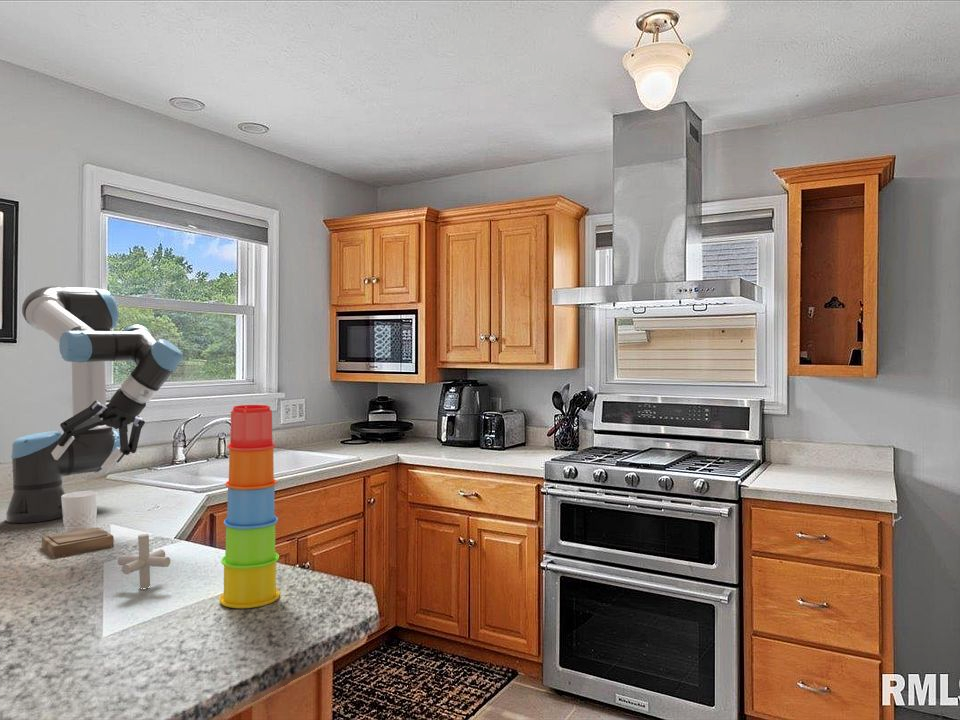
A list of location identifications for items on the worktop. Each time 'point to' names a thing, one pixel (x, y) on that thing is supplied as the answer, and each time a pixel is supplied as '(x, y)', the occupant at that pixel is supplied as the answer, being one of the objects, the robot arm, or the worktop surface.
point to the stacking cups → (250, 511)
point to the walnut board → (77, 542)
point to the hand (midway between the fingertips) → (79, 463)
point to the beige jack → (143, 561)
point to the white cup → (79, 510)
